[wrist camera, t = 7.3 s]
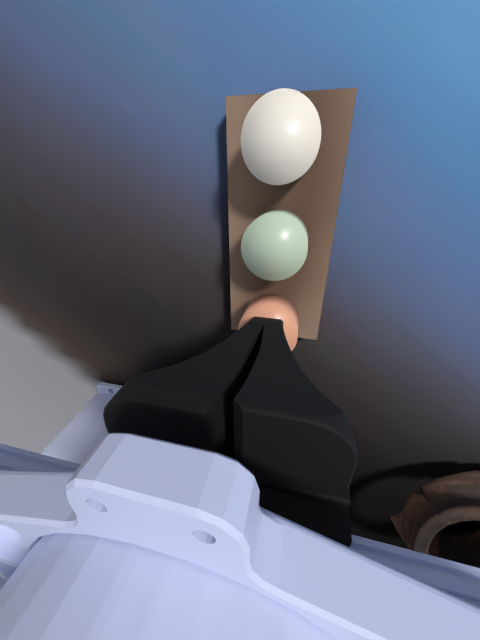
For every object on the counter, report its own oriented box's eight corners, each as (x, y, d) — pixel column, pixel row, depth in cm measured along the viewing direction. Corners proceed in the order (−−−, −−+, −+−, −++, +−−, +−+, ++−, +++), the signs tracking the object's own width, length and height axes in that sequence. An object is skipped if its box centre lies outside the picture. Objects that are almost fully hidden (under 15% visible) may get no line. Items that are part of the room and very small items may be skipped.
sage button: (248, 267, 14) (241, 278, 12) (248, 207, 12) (240, 212, 11) (304, 271, 13) (303, 283, 12) (311, 209, 12) (312, 214, 10)
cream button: (249, 183, 12) (240, 184, 10) (250, 101, 10) (240, 91, 9) (315, 183, 11) (315, 185, 10) (325, 97, 10) (327, 85, 8)
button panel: (236, 320, 17) (231, 329, 16) (233, 102, 12) (225, 96, 11) (316, 329, 16) (316, 339, 15) (353, 95, 11) (357, 87, 10)
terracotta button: (244, 338, 15) (238, 355, 13) (244, 291, 13) (237, 304, 12) (296, 344, 14) (294, 363, 13) (302, 296, 13) (300, 311, 11)
